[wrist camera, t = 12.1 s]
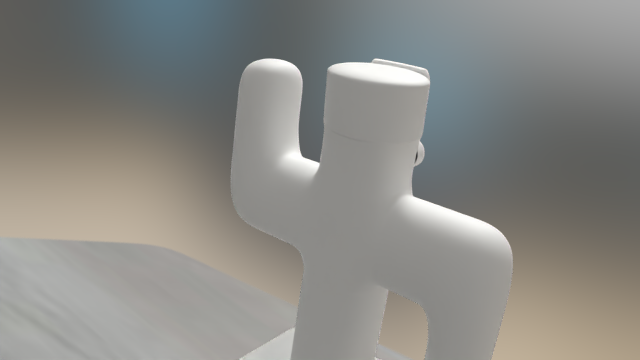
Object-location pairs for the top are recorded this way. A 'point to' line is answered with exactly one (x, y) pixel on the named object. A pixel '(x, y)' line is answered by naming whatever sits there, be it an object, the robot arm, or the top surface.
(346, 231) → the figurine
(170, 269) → the top surface
